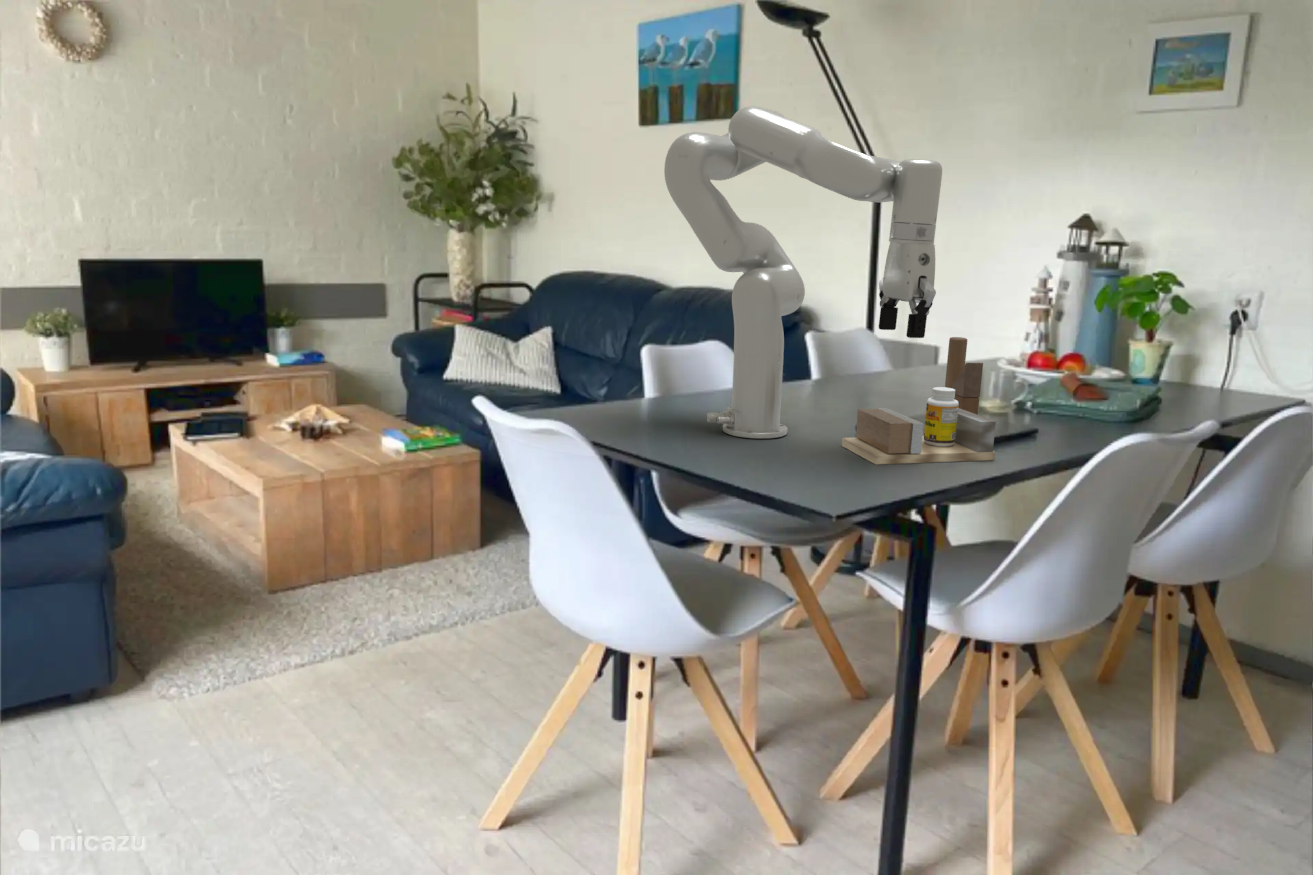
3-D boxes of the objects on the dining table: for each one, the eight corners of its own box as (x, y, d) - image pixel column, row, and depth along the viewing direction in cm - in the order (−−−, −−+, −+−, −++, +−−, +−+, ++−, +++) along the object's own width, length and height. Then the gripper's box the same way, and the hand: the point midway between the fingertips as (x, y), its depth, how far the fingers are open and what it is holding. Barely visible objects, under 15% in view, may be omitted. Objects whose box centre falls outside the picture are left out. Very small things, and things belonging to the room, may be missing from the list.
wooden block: (959, 432, 195) (968, 343, 191) (937, 421, 205) (945, 336, 201) (977, 432, 195) (986, 343, 191) (954, 421, 206) (962, 336, 202)
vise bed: (875, 464, 167) (878, 424, 166) (841, 445, 180) (844, 408, 179) (994, 460, 173) (998, 421, 171) (953, 442, 186) (956, 406, 184)
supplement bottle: (918, 440, 180) (923, 385, 177) (947, 440, 180) (952, 386, 178) (929, 447, 174) (935, 391, 172) (959, 447, 175) (965, 391, 173)
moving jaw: (889, 454, 167) (892, 424, 166) (854, 436, 181) (856, 408, 179) (921, 453, 169) (923, 423, 168) (884, 435, 182) (886, 407, 181)
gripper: (959, 238, 160) (946, 341, 164) (905, 233, 176) (895, 327, 180) (919, 236, 158) (907, 340, 162) (868, 231, 174) (858, 326, 178)
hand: (900, 333), depth 171 cm, fingers open, 9 cm apart
